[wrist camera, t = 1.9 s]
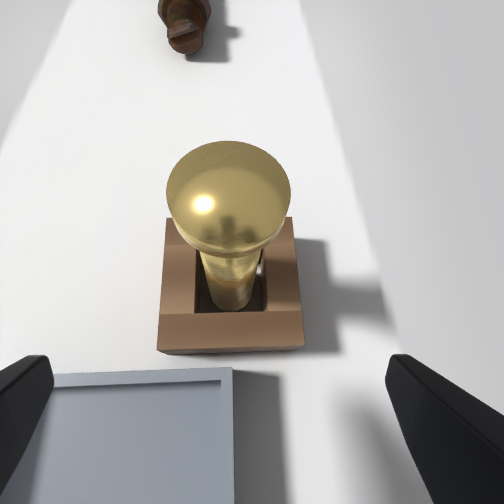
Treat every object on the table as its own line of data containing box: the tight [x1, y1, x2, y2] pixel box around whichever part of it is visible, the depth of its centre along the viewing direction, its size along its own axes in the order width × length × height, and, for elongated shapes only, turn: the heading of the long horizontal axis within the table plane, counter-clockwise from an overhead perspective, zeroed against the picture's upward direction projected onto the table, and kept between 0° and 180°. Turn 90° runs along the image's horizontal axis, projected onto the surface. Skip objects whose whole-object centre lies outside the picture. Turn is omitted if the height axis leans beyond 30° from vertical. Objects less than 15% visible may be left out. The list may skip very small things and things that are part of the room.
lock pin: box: [166, 141, 291, 311], centre depth 16 cm, size 4×4×12 cm
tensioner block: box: [157, 217, 305, 355], centre depth 20 cm, size 8×8×3 cm
